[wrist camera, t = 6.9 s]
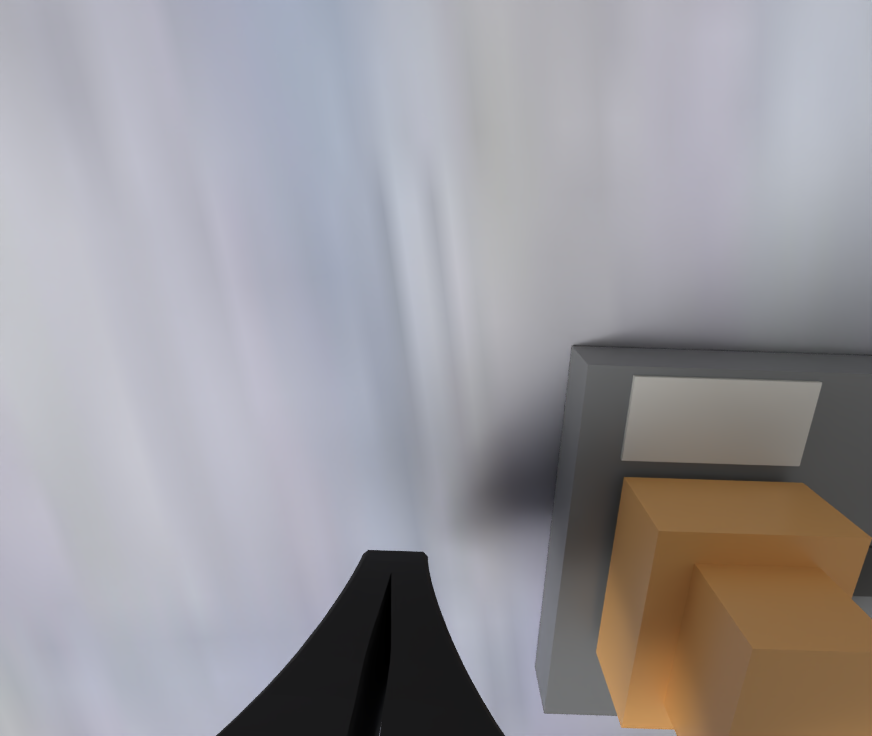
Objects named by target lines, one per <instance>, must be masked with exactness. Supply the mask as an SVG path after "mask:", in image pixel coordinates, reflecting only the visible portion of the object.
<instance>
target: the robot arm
mask: <svg viewBox="0 0 872 736" xmlns="http://www.w3.org/2000/svg"><path fill="white" fill-rule="evenodd" d="M380 728H381V730H380ZM379 733H380V736H505V735H504V734H503V732H502V731H501V729H500V728H499V726H498V725H497V723H496V722H495V720H494V718H493V717H492V715H491V713H490V712H489V710H488V708H487V707H486V705H485V703H484V702H483V700H482V698H481V697H480V695H479V693H478V691H477V689H476V688H475V686H474V684H473V682H472V680H471V678H470V677H469V675H468V673H467V671H466V669H465V667H464V665H463V663H462V661H461V659H460V656H459V654H458V652H457V650H456V648H455V645H454V643H453V641H452V639H451V636H450V634H449V632H448V629H447V627H446V624H445V621H444V619H443V616H442V613H441V611H440V608H439V605H438V602H437V599H436V596H435V592H434V589H433V585H432V582H431V577H430V573H429V567H428V556H427V555H426V554H425V553H424V552H411V551H380V550H368V551H367V552H365V553H364V554H363V556H362V558H361V560H360V562H359V564H358V566H357V567H356V569H355V571H354V573H353V574H352V576H351V578H350V580H349V581H348V583H347V584H346V586H345V588H344V589H343V591H342V592H341V594H340V595H339V597H338V598H337V600H336V601H335V603H334V604H333V606H332V607H331V608H330V610H329V611H328V613H327V614H326V616H325V617H324V619H323V620H322V621H321V623H320V624H319V625H318V627H317V628H316V629H315V630H314V632H313V633H312V634H311V636H310V637H309V638H308V639H307V641H306V642H305V643H304V645H303V646H302V647H301V648H300V650H299V651H298V652H297V653H296V654H295V656H294V657H293V658H292V659H291V660H290V662H289V663H288V664H287V665H286V666H285V667H284V668H283V670H282V671H281V672H280V673H279V674H278V675H277V676H276V677H275V678H274V679H273V681H272V682H271V683H270V684H269V685H268V686H267V687H266V688H265V689H264V690H263V691H262V692H261V693H260V694H259V695H258V696H257V697H256V698H255V699H254V700H253V701H252V702H251V703H250V704H249V705H248V706H247V707H246V708H245V709H244V710H243V711H242V712H241V713H240V714H239V715H238V716H237V717H236V718H235V719H234V720H233V721H232V722H231V723H229V724H228V725H227V726H226V727H225V728H224V729H223V730H222V731H221V732H220V733H219V734H217V735H216V736H379Z"/></svg>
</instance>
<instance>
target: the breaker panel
mask: <svg viewBox="0 0 872 736" xmlns="http://www.w3.org/2000/svg"><path fill="white" fill-rule="evenodd" d="M624 477H641V478H672V479H703V480H734V481H765V482H796V483H804V484H805V485H806V486H808V487H809V488H810V489H811V490H813V491H814V492H815V493H816V494H818V495H819V496H820V497H821V498H823V499H824V500H825V501H826V502H828V503H829V504H830V505H831V506H833V507H834V508H835V509H836V510H838V511H839V512H840V513H841V514H843V515H844V516H845V517H846V518H848V519H849V520H850V521H851V522H853V523H854V524H855V525H856V526H858V527H859V528H860V529H861V530H863V531H864V532H865V533H866V534H868V535H869V536H870V537H872V355H841V354H810V353H779V352H748V351H717V350H686V349H655V348H624V347H593V346H572V348H571V357H570V365H569V374H568V383H567V392H566V400H565V409H564V418H563V426H562V435H561V444H560V453H559V461H558V470H557V479H556V487H555V496H554V505H553V514H552V522H551V531H550V540H549V548H548V557H547V566H546V575H545V583H544V592H543V601H542V609H541V618H540V627H539V636H538V644H537V653H536V662H535V670H536V675H537V680H538V685H539V690H540V695H541V700H542V705H543V710H544V713H546V714H577V715H608V716H617V713H616V710H615V707H614V704H613V701H612V698H611V695H610V692H609V689H608V686H607V683H606V680H605V677H604V674H603V671H602V668H601V665H600V662H599V660H598V657H597V654H596V649H597V642H598V636H599V630H600V624H601V617H602V611H603V605H604V599H605V592H606V586H607V580H608V574H609V567H610V561H611V555H612V548H613V542H614V536H615V530H616V523H617V517H618V511H619V505H620V498H621V492H622V486H623V479H624ZM852 600H853V601H854V602H855V603H856V604H857V605H858V606H859V607H860V608H861V609H862V610H863V611H864V612H865V613H866V614H867V615H868V616H869V617H870V618H871V619H872V540H871V543H870V546H869V548H868V551H867V554H866V557H865V560H864V563H863V566H862V569H861V572H860V575H859V578H858V581H857V584H856V587H855V590H854V593H853V596H852Z"/></svg>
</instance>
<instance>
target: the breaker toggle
mask: <svg viewBox="0 0 872 736" xmlns="http://www.w3.org/2000/svg"><path fill="white" fill-rule="evenodd" d="M871 540H872V537H870V536H869V535H868V534H866V533H865V532H864V531H863V530H861V529H860V528H859V527H858V526H856V525H855V524H854V523H853V522H851V521H850V520H849V519H848V518H846V517H845V516H844V515H843V514H841V513H840V512H839V511H838V510H836V509H835V508H834V507H833V506H831V505H830V504H829V503H828V502H826V501H825V500H824V499H823V498H821V497H820V496H819V495H818V494H816V493H815V492H814V491H813V490H811V489H810V488H809V487H808V486H806V485H805V484H804V483H796V482H765V481H734V480H703V479H672V478H641V477H624V479H623V486H622V492H621V498H620V505H619V511H618V517H617V523H616V530H615V536H614V542H613V548H612V555H611V561H610V567H609V574H608V580H607V586H606V592H605V599H604V605H603V611H602V617H601V624H600V630H599V636H598V642H597V649H596V654H597V657H598V660H599V662H600V665H601V668H602V671H603V674H604V677H605V680H606V683H607V686H608V689H609V692H610V695H611V698H612V701H613V704H614V707H615V710H616V713H617V716H618V719H619V722H620V725H621V728H644V729H674V730H675V732H676V734H677V736H872V619H871V618H870V617H869V616H868V615H867V614H866V613H865V612H864V611H863V610H862V609H861V608H860V607H859V606H858V605H857V604H856V603H855V602H854V601H853V600H852V596H853V593H854V590H855V587H856V584H857V581H858V578H859V575H860V572H861V569H862V566H863V563H864V560H865V557H866V554H867V551H868V548H869V546H870V543H871Z"/></svg>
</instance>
